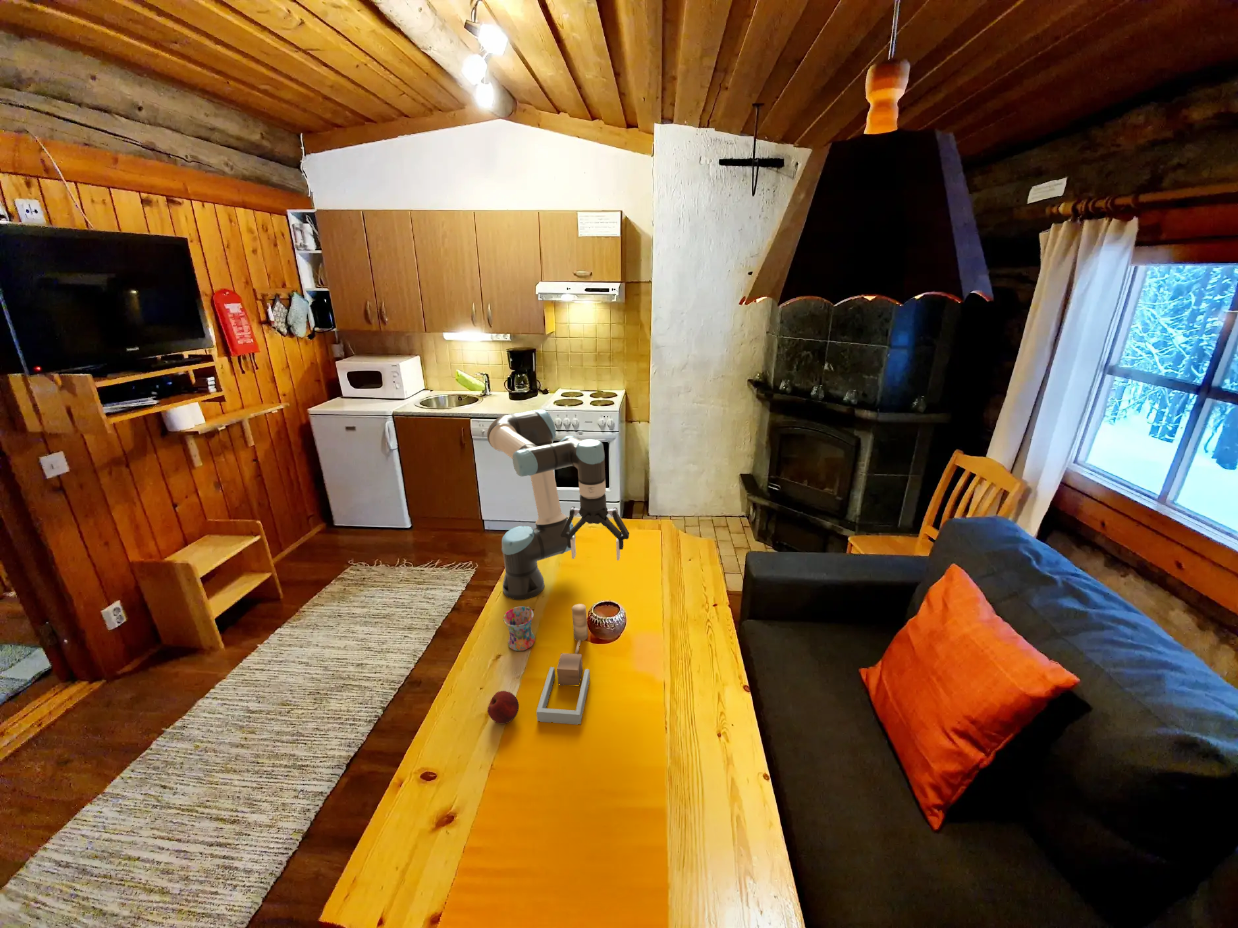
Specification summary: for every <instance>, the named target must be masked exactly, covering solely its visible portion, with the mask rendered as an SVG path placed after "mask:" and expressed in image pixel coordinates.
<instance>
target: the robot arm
mask: <svg viewBox="0 0 1238 928" xmlns="http://www.w3.org/2000/svg"><path fill="white" fill-rule="evenodd" d="M555 425H556V424H555V422H554V420H553V418H552V416H551V415H550V413H549V412H548V411H547V410H546V409H531V410H527V411H521V412H516V413H510V414H504V415H501V416H499V417H497V418H496V419H495V420H494V421H492V422H491V423H490V424H489V426H488V429H487V432H486V439H487V442H488V443H489V445H490V446H491V447H492V448H493V449H494V450H496V451H498V452H503V453H504V454H505V455H507V456H508V457H509V458H510V459H512V465H513V468H514V470H515V472H516V474H517V476H519V477H527V476H530V480H531V486H532V490H533V496H534V501H535V506H536V510H537V517H538V518H537V519H536V521H535V528H533V527H531V526H529V525H524V526H523V525H519V526H514V527H512V528H510V529H508V531H506V532H505V534H504V535H503V536H502V538H501V552H502V556H503V557H502V558H503V562H504V571H505V572H504V578H503V582H502V590H503V591H502V593H503V594H504V595H505V596H506V597H507V598H509V599H511V600H516V601H522V600H524V601H525V600H528V599H532V598H535V597H537V595H539V594H540V593H542V591H543V590H544V588H545V579H544V577H543V575H542V572H541V570H540V569H539V566H538V562H539V561H542V560H544V559H549V558H552V557H554V556H558V555H563V554H564V553H567V552H570V551H571V559H572V560H574V559H575V558H576V555H577V549H576V548H577V547H576V546H577V545H576V537H577V536H576V533H577V532H578V531H579V530H580V529H581V528H582V526H584V525H585V524H586V523H588V524H589V525H592V524H596V525H599V524H601V525H602V527H603V526H604V527H605V528H606V529H607V530H608V531H609V532H610V533H611V534H612V535H613V536H614V537H615V538H616V541H615V547H616V561H620V559H621V550H623V549H624V540H628V539H630V538H629V537H630V532H629V530H628V528H627V526H626V524H625V523H624V521H623V520H622V518H621V516H620V515H619V510H618V507H616V506H615V507H613V508H610V509H609V508H608V507H607V494H606V488H607V487H606V485H607V484H606V470H605V469H606V468H605V467H606V465H605V464H606V463H605V459H606V458H605V457H606V456H605V455H606V454H605V450H604V443H603V442H601V441H600V440H598V439H596V440H595V439H593V438H589V439H588V438H587V439H581V438H579V437H576V436H575V435H566V436H564V437H563V438H561V439H560V441H558V442H553V441H554V439H555V438H556V436H557V434H556V432H557V429H556V426H555ZM567 467H574V468H575V469H577V477H578V489H579V490H578V491H579V492H578V493H579V494H580V495H579V505H580V507H579V508H576V506H571V507H570V510H569V514H568V515H569V516H568V518H567V515H566V514H564V513H563V512H562V509H561V503H560V497H559V494H558V488H557V482H556V478H555V472H554V470H559V469H562V468H567ZM578 515H580V517H581V518H580V519H579V520H578V522H577V523H576V524H575V525H574V524H573V520H574V517H576V516H578ZM608 515H610V517H611V518H613V520H614V522H615V524H616V525H615V524H614V523H613V521H611V520H610V518H609V517H608Z"/></svg>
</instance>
